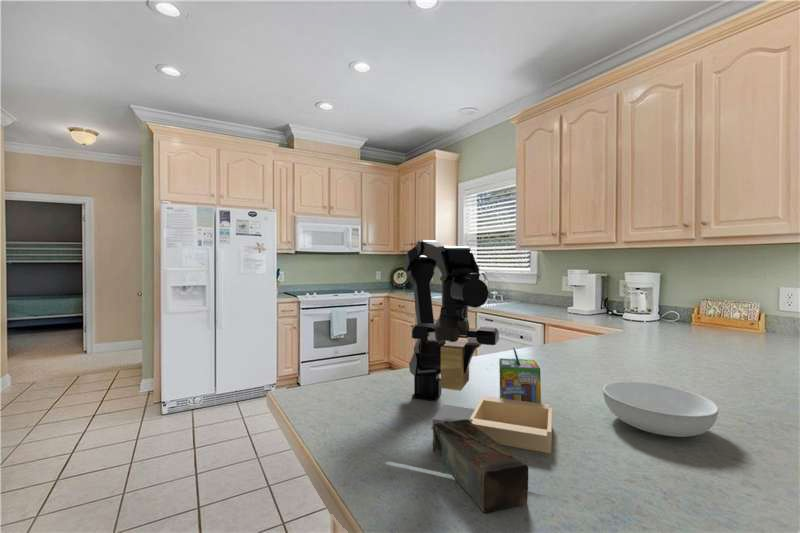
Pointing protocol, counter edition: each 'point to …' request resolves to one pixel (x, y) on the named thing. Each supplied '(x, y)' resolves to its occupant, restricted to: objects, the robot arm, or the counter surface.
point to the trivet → (452, 414)
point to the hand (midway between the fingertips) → (454, 371)
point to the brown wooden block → (453, 366)
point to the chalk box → (520, 380)
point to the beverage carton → (481, 465)
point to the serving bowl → (660, 408)
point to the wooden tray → (515, 423)
